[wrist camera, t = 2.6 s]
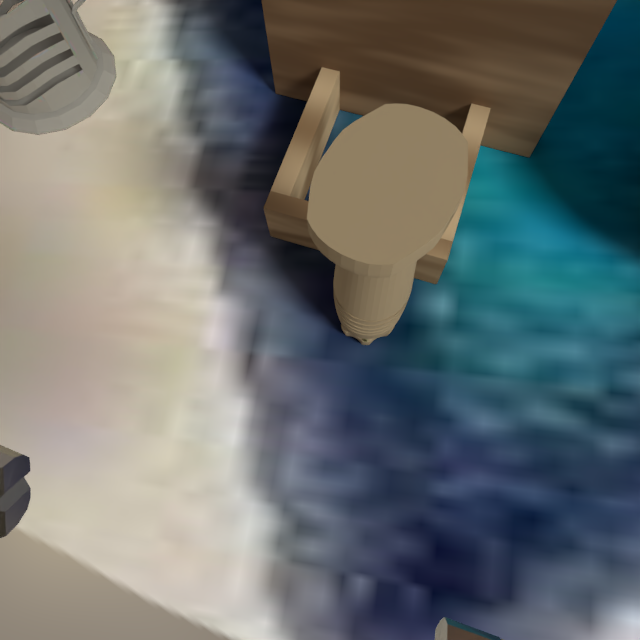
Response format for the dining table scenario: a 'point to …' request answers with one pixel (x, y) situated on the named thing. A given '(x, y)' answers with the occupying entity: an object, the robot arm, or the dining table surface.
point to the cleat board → (421, 79)
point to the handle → (384, 209)
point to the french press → (50, 67)
